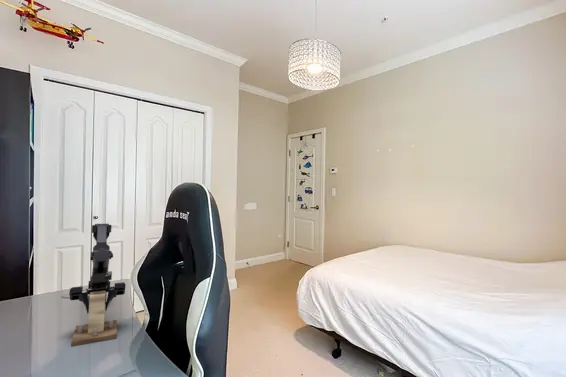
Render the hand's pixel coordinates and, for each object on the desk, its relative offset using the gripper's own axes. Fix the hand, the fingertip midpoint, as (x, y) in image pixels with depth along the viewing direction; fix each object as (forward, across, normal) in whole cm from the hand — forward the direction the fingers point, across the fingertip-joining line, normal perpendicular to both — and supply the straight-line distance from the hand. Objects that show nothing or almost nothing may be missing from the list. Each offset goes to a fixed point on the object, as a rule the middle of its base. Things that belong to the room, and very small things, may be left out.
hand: (96, 311), depth 112 cm
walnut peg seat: (+5, 0, +7) cm, 9 cm away
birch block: (+4, 0, +6) cm, 8 cm away
